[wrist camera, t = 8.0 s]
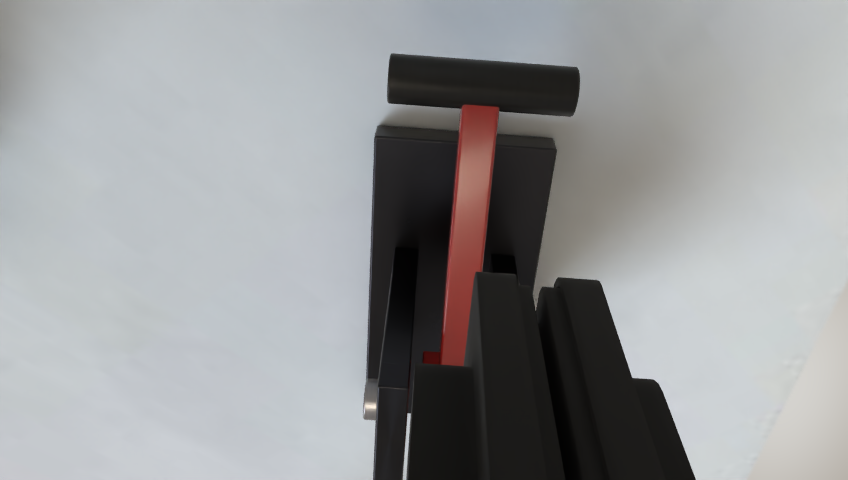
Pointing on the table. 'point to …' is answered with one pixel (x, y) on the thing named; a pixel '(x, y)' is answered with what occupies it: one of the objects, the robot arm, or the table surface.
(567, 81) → the red lever handle
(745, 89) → the table surface
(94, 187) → the table surface
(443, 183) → the black lever base
